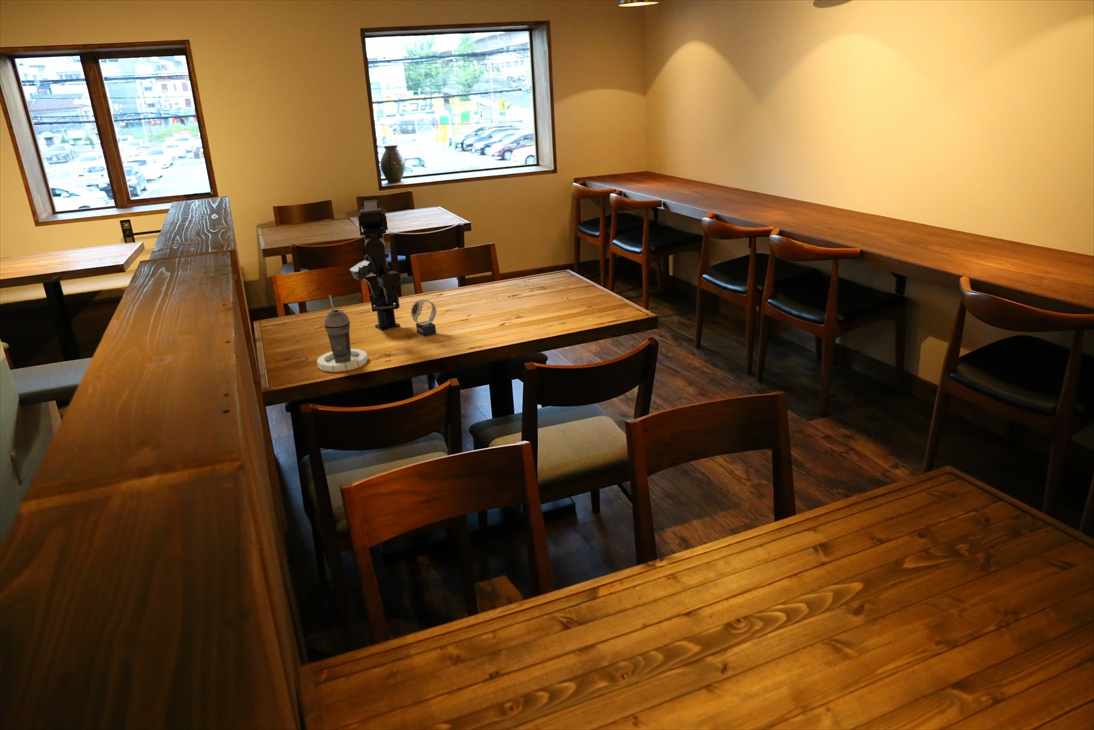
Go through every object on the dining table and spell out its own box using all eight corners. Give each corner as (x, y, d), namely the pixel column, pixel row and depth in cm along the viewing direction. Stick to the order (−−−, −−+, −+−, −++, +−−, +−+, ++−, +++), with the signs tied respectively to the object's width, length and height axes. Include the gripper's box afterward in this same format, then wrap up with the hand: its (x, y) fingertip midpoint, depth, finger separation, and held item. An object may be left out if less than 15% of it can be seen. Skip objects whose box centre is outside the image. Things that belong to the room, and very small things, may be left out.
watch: (411, 333, 239) (407, 301, 235) (434, 328, 243) (430, 296, 239) (418, 338, 235) (414, 305, 231) (441, 332, 239) (437, 300, 235)
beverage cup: (341, 367, 213) (330, 300, 205) (325, 363, 217) (313, 297, 209) (360, 359, 218) (351, 294, 211) (344, 355, 222) (334, 291, 215)
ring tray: (311, 362, 219) (310, 357, 218) (355, 350, 226) (354, 345, 226) (329, 375, 208) (328, 369, 208) (375, 362, 216) (374, 356, 215)
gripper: (338, 251, 227) (346, 300, 232) (364, 260, 213) (371, 312, 218) (372, 245, 233) (378, 293, 238) (399, 254, 219) (405, 304, 224)
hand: (382, 300), depth 230 cm, fingers open, 9 cm apart
